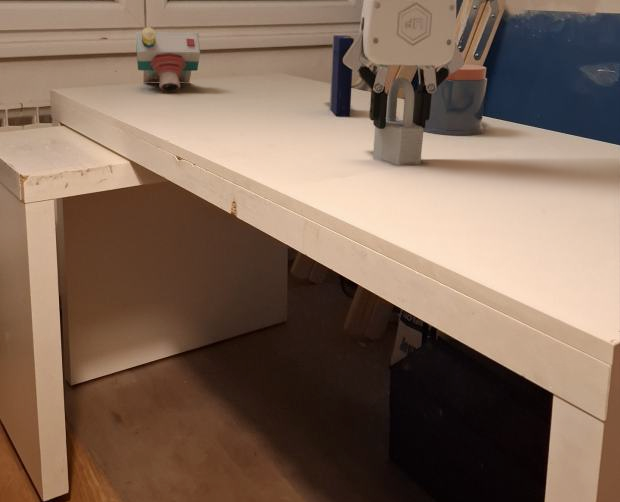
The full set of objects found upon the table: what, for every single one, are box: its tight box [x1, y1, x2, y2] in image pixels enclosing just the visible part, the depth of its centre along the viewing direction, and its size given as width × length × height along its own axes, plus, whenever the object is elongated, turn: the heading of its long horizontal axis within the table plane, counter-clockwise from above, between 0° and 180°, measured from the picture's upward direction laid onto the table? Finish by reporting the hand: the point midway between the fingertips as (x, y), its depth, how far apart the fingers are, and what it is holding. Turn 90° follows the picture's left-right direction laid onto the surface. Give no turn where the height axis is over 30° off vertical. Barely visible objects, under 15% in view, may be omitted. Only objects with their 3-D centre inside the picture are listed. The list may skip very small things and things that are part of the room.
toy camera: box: [135, 26, 201, 92], centre depth 143 cm, size 11×9×20 cm
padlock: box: [372, 76, 425, 166], centre depth 88 cm, size 7×4×10 cm, turn 20°
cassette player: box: [329, 34, 355, 117], centre depth 123 cm, size 7×2×12 cm, turn 7°
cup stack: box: [423, 63, 488, 136], centre depth 112 cm, size 10×10×9 cm
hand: (398, 125), depth 88 cm, fingers closed on padlock, 4 cm apart
